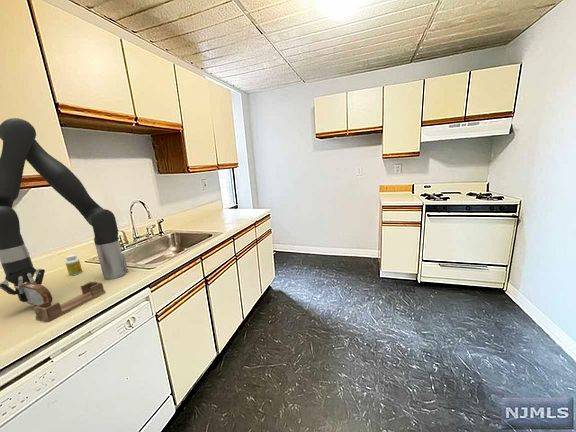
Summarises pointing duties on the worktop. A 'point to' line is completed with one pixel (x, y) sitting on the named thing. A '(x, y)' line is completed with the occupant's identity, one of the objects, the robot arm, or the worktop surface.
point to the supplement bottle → (73, 265)
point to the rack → (68, 302)
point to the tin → (36, 293)
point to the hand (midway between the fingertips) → (30, 299)
